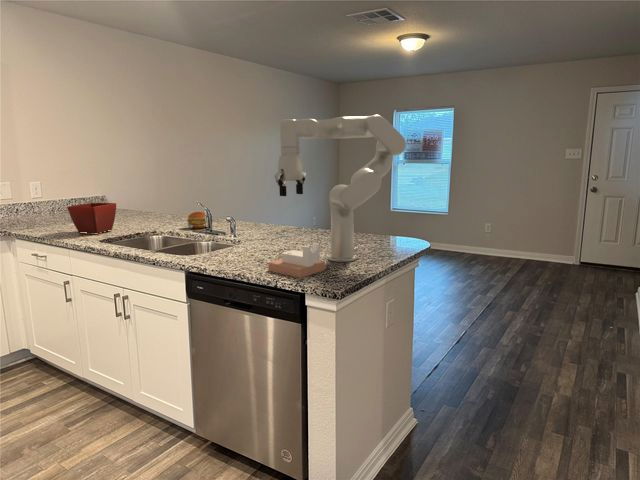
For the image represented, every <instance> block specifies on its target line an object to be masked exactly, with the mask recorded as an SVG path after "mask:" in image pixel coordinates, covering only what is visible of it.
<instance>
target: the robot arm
mask: <svg viewBox="0 0 640 480" xmlns="http://www.w3.org/2000/svg"><path fill="white" fill-rule="evenodd" d="M279 135H280V138H279V139H280V141H279V143H280V155H279V156H278V162H277V163H278V164H277V167H278V168H277V173H275V174H274V178H275V181H276V183H277V186H278V188H279V197H287V186H286V185H287V182H290V181H295V182H296V184H295V189H296V190H295V193H296V195H303V194H304V184H305V180H306V176H307V173H306V171H304V170H303V163H302V157H301V149H300V148H301V147H300V142H301V141H300V139H302V140H310V139H311V140H312V139H313V140H314V139H338V140H339V139H361V138H362V139H363V138H375V140H377V142H376V145H375V155H374V157H373V158H371V160H369V162H368V163H367V164H365V165H364V166H362V167H361V168H360V169H359V170H357V171H356V172H354V173H353V175H352V176H351V179H350V184H348V185H347V184H336V185H335V186H333V188H332V189H331V190H330V193H329V197H328V201H329V206H330V207H329V209H330V233H331V234H330V237H331V238H330V239H331V241H330V247H331V248H330V250H331V252H330V254H327V255H328V256H327V260H329V261H332V262H338V263H347V262H354V261H356V260H357V259H358V255H357V254H355V253H356V252H358V251H360V247H359V246H356V247H354V246H355V245H354V237H355V236H354V234H355V233H354V230H355V228H354V226H355V224H354V217H355V215H354V210H355V209H356V208H358V207H360V206H361V205H362V204H364V203H365V202H366V201H367V200H369V199H370V198H371V197H373V196H374V195H375V194H376V193H377V192H378V191H379V190H380V189H381V186H382V184H383V183H382V181H383V180H382V178H383V177H385V176H386V175H387V174H388V173H389V172H390V170H391V168H392V165H393V162H394V161H393V160H394V156H395V157H396V156H400V155H401V154H403V153H404V152H405V150H406V147H407V142H406V139H405V137H404V136H403V135H402V134H401V133H400V132H399V131H398V130H397V129H396V127H394V126H393V125H392V124H391V123H390V122H389V121H388V120H387V119H386V118H385V117H383V116H382V115H379V114H373V115H368V116H367V115H365V116H361V115H360V116H339V117H334V118H327V119H314V118H305V119H293V118H289V119H288V118H287V119H281V121H280V122H279Z"/></svg>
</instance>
